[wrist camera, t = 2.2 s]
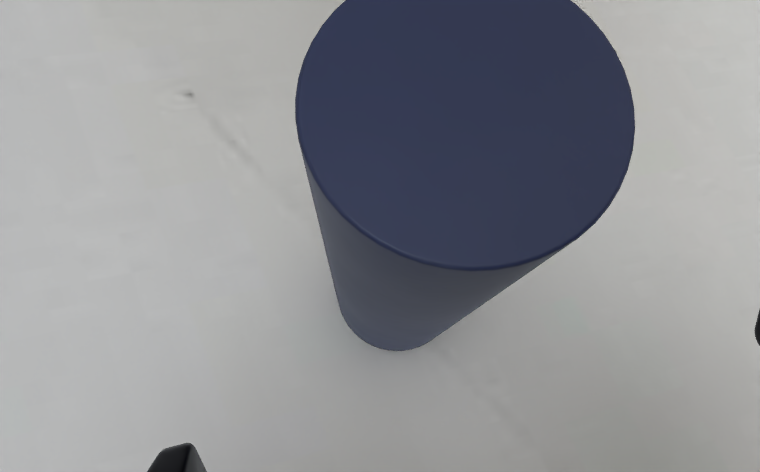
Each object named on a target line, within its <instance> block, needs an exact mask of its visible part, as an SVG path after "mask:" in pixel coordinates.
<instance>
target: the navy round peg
mask: <svg viewBox="0 0 760 472" xmlns="http://www.w3.org/2000/svg"><path fill="white" fill-rule="evenodd" d="M295 115H296V126H297V132H298V139H299V143H300V147H301V152H302V156H303V160H304V164H305V168H306V172H307V176H308V180H309V184H310V188H311V193H312V197H313V201H314V205H315V209H316V213H317V217H318V221H319V225H320V229H321V234H322V238H323V242H324V246H325V250H326V254H327V258H328V262H329V266H330V270H331V275H332V279H333V283H334V287H335V291H336V295H337V299H338V303H339V307H340V310H341V313H342V315H343V317H344V319H345V321H346V323H347V324H348V326H349V327H350V328H351V329H352V331H353V332H354V333H355V334H356V335H357V336H358V337H360V338H361V339H362V340H364V341H365V342H367V343H369V344H371V345H373V346H375V347H378V348H381V349H385V350H392V351H404V350H409V349H414V348H417V347H420V346H422V345H424V344H426V343H428V342H429V341H431V340H432V339H434V338H435V337H436V336H438V335H439V334H441V333H442V332H444V331H445V330H446V329H448V328H449V327H451V326H452V325H454V324H455V323H457V322H458V321H459V320H461V319H462V318H464V317H465V316H467V315H468V314H470V313H471V312H472V311H474V310H475V309H477V308H478V307H480V306H481V305H483V304H484V303H485V302H487V301H488V300H490V299H491V298H493V297H494V296H495V295H497V294H498V293H500V292H501V291H503V290H504V289H506V288H507V287H508V286H510V285H511V284H513V283H514V282H516V281H517V280H519V279H520V278H521V277H523V276H524V275H526V274H527V273H529V272H530V271H532V270H533V269H534V268H536V267H537V266H539V265H540V264H542V263H543V262H544V261H546V260H547V259H549V258H550V257H552V256H553V255H555V254H556V253H557V252H559V251H560V250H562V249H563V248H565V247H566V246H568V245H569V244H570V243H572V242H573V241H575V240H576V239H578V238H579V237H580V236H581V235H582V234H583V233H585V232H586V231H587V230H588V229H589V228H590V227H591V226H592V225H594V224H595V223H596V221H597V220H598V219H599V218H600V217H601V215H602V214H603V213H604V212H605V211H606V209H607V208H608V207H609V206H610V204H611V202H612V201H613V199H614V197H615V196H616V194H617V192H618V191H619V189H620V187H621V184H622V182H623V180H624V177H625V175H626V173H627V170H628V166H629V162H630V159H631V155H632V151H633V142H634V132H635V120H634V106H633V100H632V95H631V89H630V86H629V83H628V80H627V77H626V74H625V71H624V68H623V66H622V64H621V62H620V60H619V58H618V56H617V54H616V52H615V50H614V49H613V47H612V45H611V44H610V42H609V41H608V39H607V38H606V36H605V35H604V33H603V32H602V31H601V30H600V29H599V27H598V26H597V25H596V24H595V23H594V21H593V20H592V19H591V18H590V17H589V16H588V15H587V14H586V13H585V12H584V11H582V10H581V9H580V8H579V7H578V6H577V5H576V4H575V3H573V2H572V1H571V0H346V1H344V2H343V3H342V4H341V5H340V6H339V7H338V8H337V9H336V10H335V11H334V12H333V13H332V14H331V16H330V17H329V18H328V19H327V20H326V22H325V23H324V24H323V25H322V27H321V28H320V30H319V31H318V33H317V35H316V36H315V38H314V39H313V41H312V43H311V45H310V47H309V49H308V51H307V54H306V56H305V58H304V60H303V64H302V67H301V71H300V74H299V78H298V83H297V91H296V98H295Z"/></svg>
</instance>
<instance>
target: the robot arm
mask: <svg viewBox="0 0 760 472" xmlns="http://www.w3.org/2000/svg"><path fill="white" fill-rule="evenodd" d="M755 337H756V340H757V342H758V344H759V346H760V310H759V314H758V318H757V322H756V326H755ZM147 472H207V471H206V469H205V467H204V465H203V463H202V461H201V458H200V456H199V454H198V452H197V450H196V448H195V447H194V446H193V445H192V444H191V443H184V444H181V445H177V446H173V447H169V448H166V449H164V450H162V451H161V452H160V453H159V454H158V456H157V457H156V459H155V460H154V462H153V463H152V465H151V466H150V468H149V470H148V471H147Z"/></svg>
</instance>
